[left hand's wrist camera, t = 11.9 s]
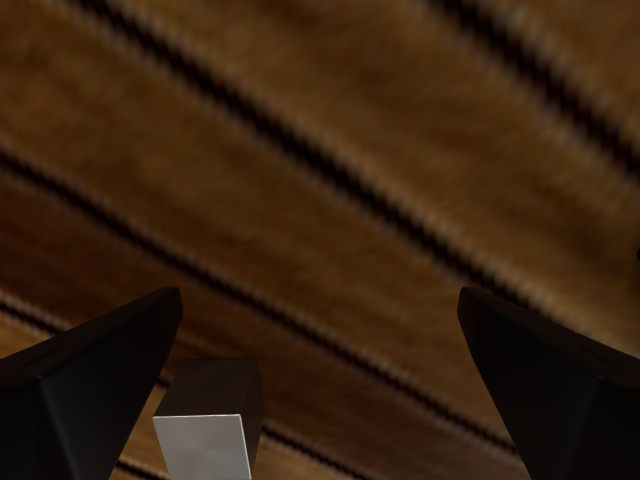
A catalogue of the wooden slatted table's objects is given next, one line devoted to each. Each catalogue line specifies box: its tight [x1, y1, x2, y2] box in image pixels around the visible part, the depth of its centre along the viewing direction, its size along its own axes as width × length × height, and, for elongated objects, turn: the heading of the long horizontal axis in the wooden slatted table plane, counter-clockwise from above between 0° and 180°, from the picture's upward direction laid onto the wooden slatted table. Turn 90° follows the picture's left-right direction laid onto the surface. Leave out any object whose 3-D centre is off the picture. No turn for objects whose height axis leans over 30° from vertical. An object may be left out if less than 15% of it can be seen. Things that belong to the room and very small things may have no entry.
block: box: [153, 358, 264, 480], centre depth 20 cm, size 4×5×4 cm
